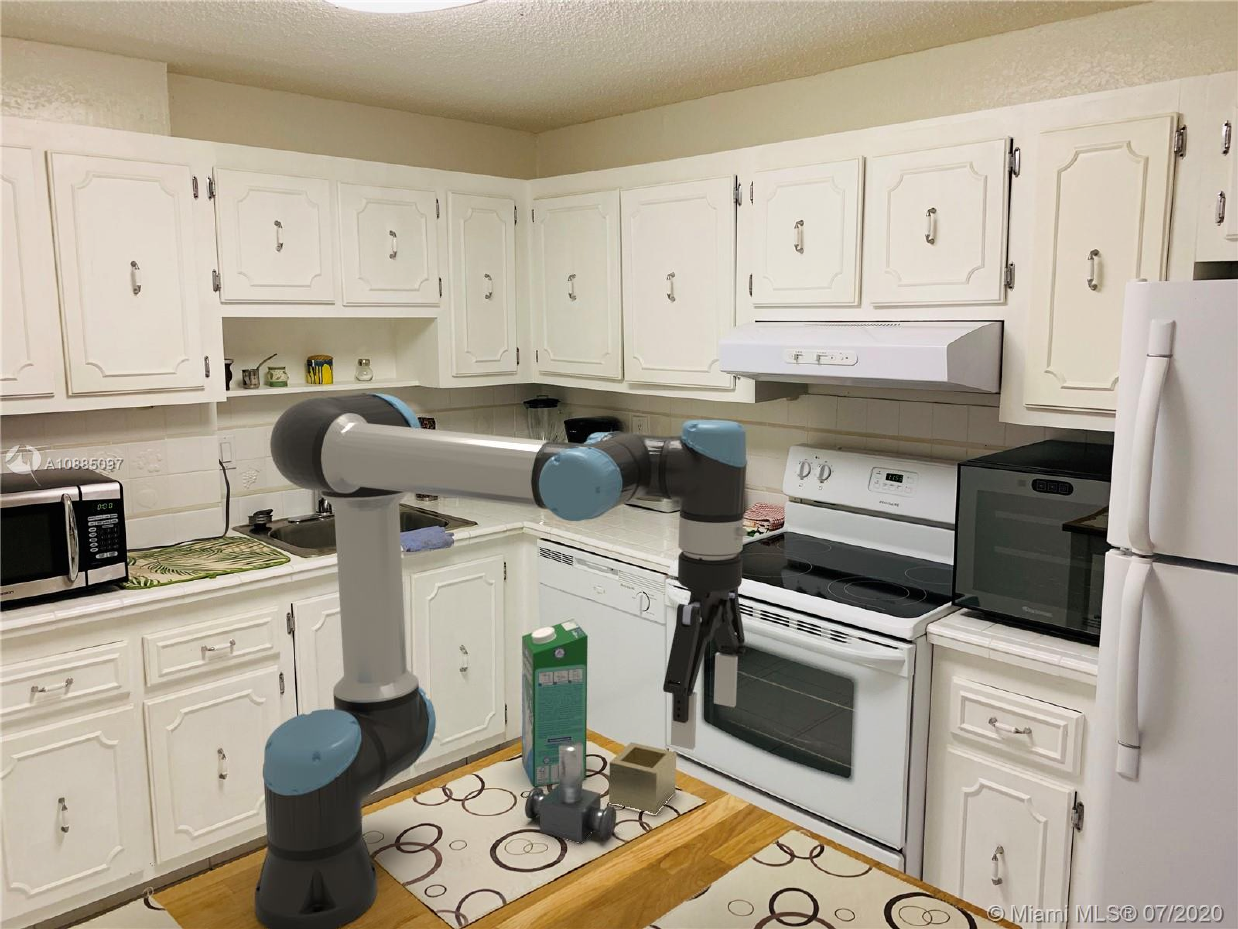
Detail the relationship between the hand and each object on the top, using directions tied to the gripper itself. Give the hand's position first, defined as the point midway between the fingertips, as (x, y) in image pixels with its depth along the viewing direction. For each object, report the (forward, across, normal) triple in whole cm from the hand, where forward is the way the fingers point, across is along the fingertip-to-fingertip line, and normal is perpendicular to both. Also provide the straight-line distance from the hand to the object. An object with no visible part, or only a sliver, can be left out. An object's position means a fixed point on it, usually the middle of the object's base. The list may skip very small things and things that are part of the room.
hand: (704, 724), depth 111 cm
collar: (+27, +26, +20) cm, 42 cm away
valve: (+27, +13, +26) cm, 39 cm away
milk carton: (+27, +27, +37) cm, 53 cm away
